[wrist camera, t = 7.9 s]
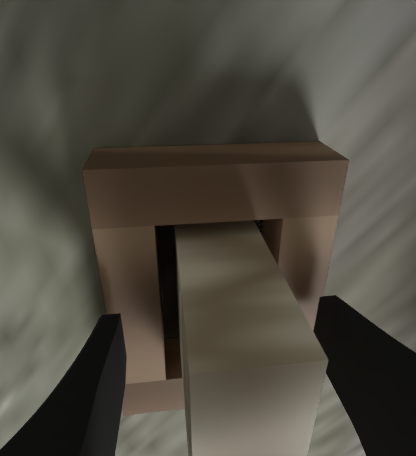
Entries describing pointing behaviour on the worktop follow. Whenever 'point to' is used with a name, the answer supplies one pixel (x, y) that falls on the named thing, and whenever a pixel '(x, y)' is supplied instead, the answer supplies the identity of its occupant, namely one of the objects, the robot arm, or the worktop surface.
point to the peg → (243, 346)
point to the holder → (203, 213)
